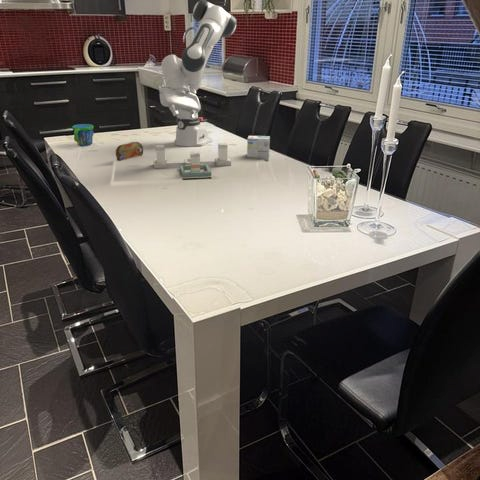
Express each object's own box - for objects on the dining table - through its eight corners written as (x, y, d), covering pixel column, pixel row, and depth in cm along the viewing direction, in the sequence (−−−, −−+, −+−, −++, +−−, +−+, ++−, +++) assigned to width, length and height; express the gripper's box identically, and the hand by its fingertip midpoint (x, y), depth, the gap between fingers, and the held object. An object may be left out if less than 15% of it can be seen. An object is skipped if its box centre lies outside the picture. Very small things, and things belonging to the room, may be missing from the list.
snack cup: (84, 148, 242) (81, 129, 238) (67, 147, 245) (64, 127, 241) (102, 142, 255) (100, 124, 251) (86, 141, 259) (83, 122, 254)
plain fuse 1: (157, 165, 209) (155, 145, 205) (165, 164, 210) (164, 145, 206) (157, 167, 206) (156, 147, 202) (165, 167, 207) (164, 146, 203)
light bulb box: (269, 157, 231) (270, 135, 226) (268, 161, 224) (269, 138, 220) (247, 156, 231) (248, 135, 227) (246, 160, 225) (247, 138, 221)
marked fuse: (190, 172, 201) (190, 151, 198) (199, 171, 202) (198, 151, 198) (191, 174, 198) (191, 153, 194) (200, 174, 199) (199, 153, 195)
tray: (180, 172, 205) (180, 165, 203) (207, 171, 207) (207, 164, 206) (182, 180, 194) (182, 173, 193) (211, 178, 196) (211, 172, 195)
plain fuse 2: (218, 162, 214) (218, 143, 211) (226, 162, 215) (226, 143, 211) (219, 164, 211) (219, 145, 208) (227, 164, 212) (227, 144, 208)
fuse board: (153, 167, 212) (153, 159, 210) (228, 163, 218) (228, 156, 217) (154, 172, 204) (153, 164, 202) (231, 169, 210) (231, 161, 209)
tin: (119, 164, 216) (118, 146, 212) (115, 163, 217) (113, 145, 214) (144, 158, 227) (142, 140, 223) (139, 157, 228) (138, 139, 225)
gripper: (162, 80, 195) (169, 109, 192) (198, 90, 210) (206, 117, 207) (153, 88, 199) (161, 117, 196) (190, 98, 214) (197, 124, 211)
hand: (184, 117), depth 201 cm, fingers open, 8 cm apart
